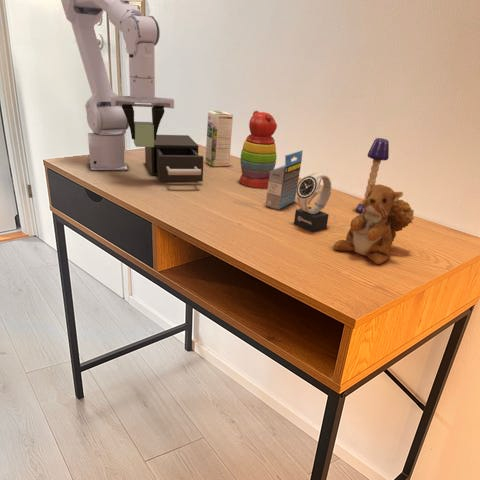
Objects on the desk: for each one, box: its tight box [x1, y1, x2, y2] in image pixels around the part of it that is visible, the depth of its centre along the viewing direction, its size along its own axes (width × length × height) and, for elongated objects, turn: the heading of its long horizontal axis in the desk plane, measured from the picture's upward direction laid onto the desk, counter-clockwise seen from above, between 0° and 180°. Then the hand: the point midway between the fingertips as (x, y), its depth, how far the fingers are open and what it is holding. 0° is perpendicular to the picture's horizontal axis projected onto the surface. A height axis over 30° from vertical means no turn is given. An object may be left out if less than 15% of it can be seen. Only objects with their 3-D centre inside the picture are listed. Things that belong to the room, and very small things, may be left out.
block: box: [133, 121, 154, 148], centre depth 119 cm, size 4×4×5 cm
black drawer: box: [154, 148, 204, 183], centre depth 126 cm, size 17×11×6 cm, turn 17°
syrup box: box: [205, 110, 234, 167], centre depth 143 cm, size 6×6×14 cm
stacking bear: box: [239, 110, 278, 189], centre depth 127 cm, size 11×10×18 cm
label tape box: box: [265, 150, 303, 210], centre depth 114 cm, size 9×4×12 cm, turn 149°
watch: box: [293, 172, 332, 233], centre depth 102 cm, size 6×8×11 cm
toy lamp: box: [355, 137, 390, 215], centre depth 113 cm, size 5×5×17 cm
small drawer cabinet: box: [144, 134, 199, 177], centre depth 135 cm, size 13×12×8 cm
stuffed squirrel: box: [332, 182, 415, 265], centre depth 92 cm, size 10×14×13 cm
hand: (143, 138), depth 120 cm, fingers closed on block, 4 cm apart
